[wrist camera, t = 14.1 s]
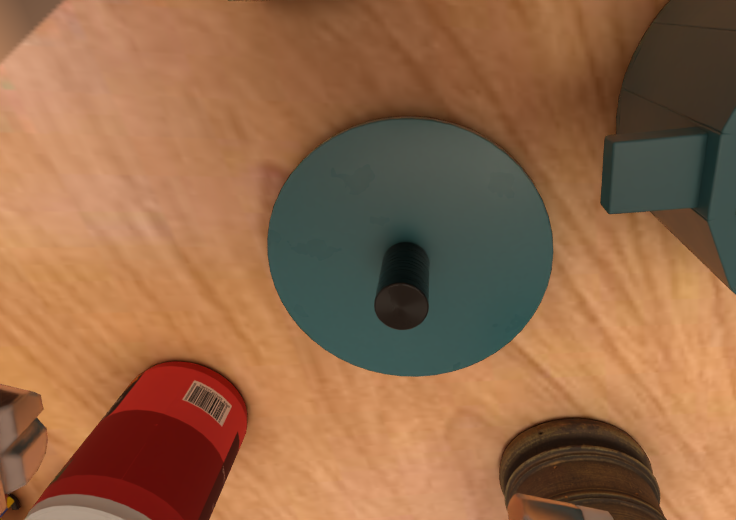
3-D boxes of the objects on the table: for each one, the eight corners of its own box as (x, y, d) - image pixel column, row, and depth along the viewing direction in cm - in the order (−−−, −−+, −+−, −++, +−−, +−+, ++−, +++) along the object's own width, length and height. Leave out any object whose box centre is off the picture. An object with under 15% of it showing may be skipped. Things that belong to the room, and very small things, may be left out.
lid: (246, 130, 27) (202, 160, 21) (551, 96, 24) (582, 121, 19) (299, 368, 33) (274, 436, 28) (546, 359, 30) (569, 431, 25)
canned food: (122, 352, 34) (-6, 498, 24) (245, 361, 33) (165, 516, 23) (144, 443, 37) (39, 603, 27) (256, 453, 36) (190, 622, 26)
